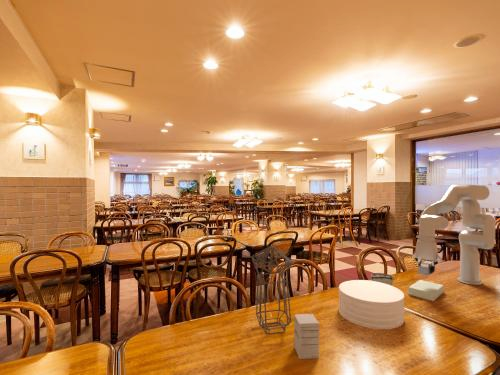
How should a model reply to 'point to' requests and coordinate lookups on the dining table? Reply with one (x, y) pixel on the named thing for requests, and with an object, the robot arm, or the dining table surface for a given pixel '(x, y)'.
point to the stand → (426, 290)
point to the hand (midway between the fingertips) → (426, 271)
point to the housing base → (424, 270)
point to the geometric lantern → (272, 282)
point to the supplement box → (306, 336)
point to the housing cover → (426, 264)
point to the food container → (382, 278)
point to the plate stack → (371, 304)
